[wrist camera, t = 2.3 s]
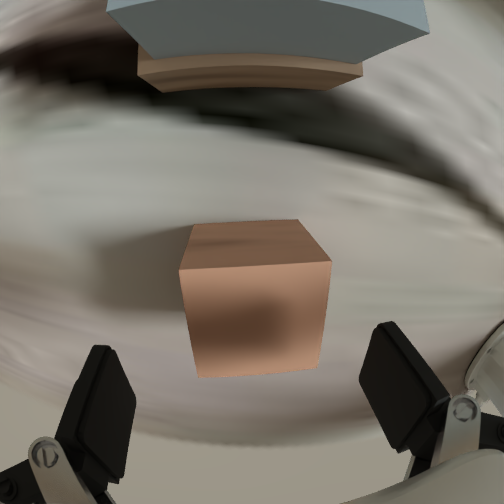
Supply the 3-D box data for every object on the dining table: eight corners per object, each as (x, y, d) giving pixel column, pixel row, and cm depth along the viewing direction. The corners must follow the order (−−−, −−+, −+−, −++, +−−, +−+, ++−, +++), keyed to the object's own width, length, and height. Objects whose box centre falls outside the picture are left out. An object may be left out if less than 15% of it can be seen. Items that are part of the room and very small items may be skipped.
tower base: (324, 91, 14) (363, 76, 9) (163, 93, 13) (137, 75, 9) (315, -26, 10) (341, -65, 6) (170, -28, 10) (154, -70, 5)
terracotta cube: (293, 305, 19) (317, 367, 13) (204, 311, 18) (198, 377, 13) (297, 219, 17) (331, 261, 11) (194, 223, 16) (178, 269, 11)
